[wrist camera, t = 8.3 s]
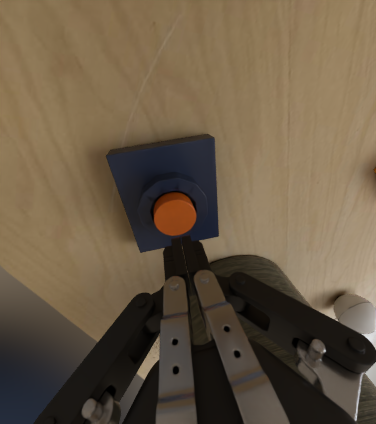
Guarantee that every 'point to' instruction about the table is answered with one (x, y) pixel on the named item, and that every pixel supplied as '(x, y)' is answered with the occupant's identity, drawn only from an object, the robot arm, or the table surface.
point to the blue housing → (167, 185)
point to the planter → (271, 275)
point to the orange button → (174, 214)
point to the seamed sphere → (356, 313)
